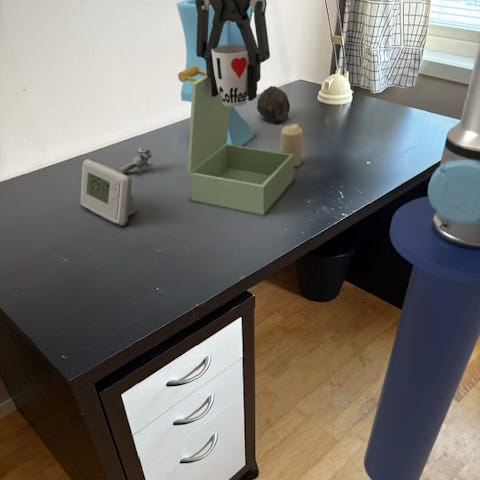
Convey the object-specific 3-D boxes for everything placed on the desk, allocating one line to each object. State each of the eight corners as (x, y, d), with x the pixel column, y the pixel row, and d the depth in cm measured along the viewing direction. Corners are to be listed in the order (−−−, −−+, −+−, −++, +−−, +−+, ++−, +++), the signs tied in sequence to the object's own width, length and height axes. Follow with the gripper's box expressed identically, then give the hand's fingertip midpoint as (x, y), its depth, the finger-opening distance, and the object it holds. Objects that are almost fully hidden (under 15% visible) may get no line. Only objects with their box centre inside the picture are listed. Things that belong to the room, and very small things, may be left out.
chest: (292, 180, 120) (293, 154, 115) (263, 215, 107) (263, 187, 103) (226, 169, 126) (225, 143, 122) (192, 200, 114) (189, 173, 109)
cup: (211, 108, 97) (207, 53, 91) (219, 95, 103) (216, 43, 97) (250, 109, 96) (249, 54, 89) (256, 96, 102) (255, 43, 95)
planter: (234, 155, 133) (228, 6, 109) (186, 147, 138) (171, 4, 115) (257, 135, 143) (256, -4, 120) (212, 129, 148) (202, -6, 125)
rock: (276, 124, 147) (275, 89, 141) (251, 121, 154) (250, 87, 149) (298, 120, 152) (298, 85, 147) (273, 117, 160) (273, 84, 154)
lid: (236, 60, 107) (205, 51, 109) (195, 83, 95) (162, 72, 97) (226, 142, 121) (200, 133, 123) (190, 172, 109) (161, 161, 110)
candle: (292, 157, 130) (293, 119, 124) (305, 163, 127) (307, 125, 120) (276, 162, 128) (276, 124, 122) (289, 169, 125) (290, 130, 118)
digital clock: (79, 206, 113) (67, 163, 106) (114, 194, 117) (104, 152, 110) (109, 233, 104) (97, 188, 96) (145, 220, 107) (137, 175, 100)
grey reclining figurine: (120, 166, 130) (149, 150, 130) (131, 186, 130) (160, 169, 130) (111, 155, 120) (142, 138, 120) (123, 176, 120) (154, 159, 120)
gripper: (290, -43, 83) (286, 96, 98) (188, -43, 90) (199, 86, 105) (274, -38, 78) (273, 107, 93) (167, -39, 85) (182, 97, 100)
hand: (234, 96), depth 99 cm, fingers closed on cup, 8 cm apart
